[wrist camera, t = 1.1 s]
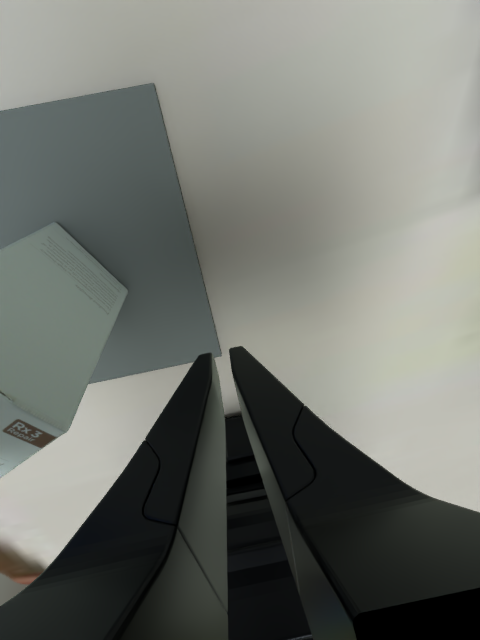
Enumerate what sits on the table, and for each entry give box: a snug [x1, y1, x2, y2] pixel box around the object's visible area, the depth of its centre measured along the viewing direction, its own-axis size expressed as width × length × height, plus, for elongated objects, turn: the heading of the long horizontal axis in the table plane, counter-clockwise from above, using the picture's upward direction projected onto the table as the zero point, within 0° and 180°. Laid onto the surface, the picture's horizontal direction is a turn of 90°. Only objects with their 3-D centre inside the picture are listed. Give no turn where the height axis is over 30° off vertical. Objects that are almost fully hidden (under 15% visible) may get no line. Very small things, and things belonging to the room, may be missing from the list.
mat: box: [0, 83, 222, 384], centre depth 19 cm, size 18×24×1 cm
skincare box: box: [0, 222, 128, 478], centre depth 14 cm, size 6×4×12 cm
